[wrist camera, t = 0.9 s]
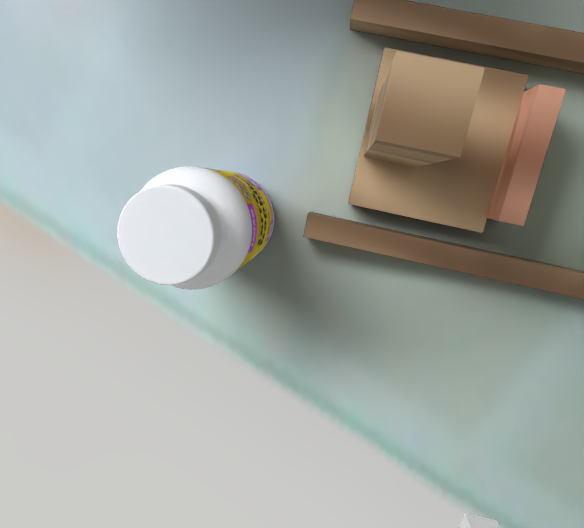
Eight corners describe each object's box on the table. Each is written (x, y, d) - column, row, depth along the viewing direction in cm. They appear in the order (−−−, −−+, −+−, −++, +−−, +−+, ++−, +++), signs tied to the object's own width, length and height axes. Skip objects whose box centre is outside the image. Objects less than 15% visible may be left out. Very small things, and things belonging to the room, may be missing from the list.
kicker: (382, 53, 30) (411, -40, 18) (543, 84, 30) (693, 11, 17) (348, 202, 32) (351, 215, 20) (497, 235, 32) (602, 270, 19)
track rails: (355, 3, 30) (356, -9, 28) (766, 80, 29) (797, 72, 27) (305, 233, 33) (302, 236, 31) (674, 315, 32) (696, 324, 30)
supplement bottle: (287, 247, 34) (255, 285, 21) (205, 273, 35) (126, 324, 22) (258, 158, 33) (206, 142, 20) (174, 187, 34) (74, 190, 21)
